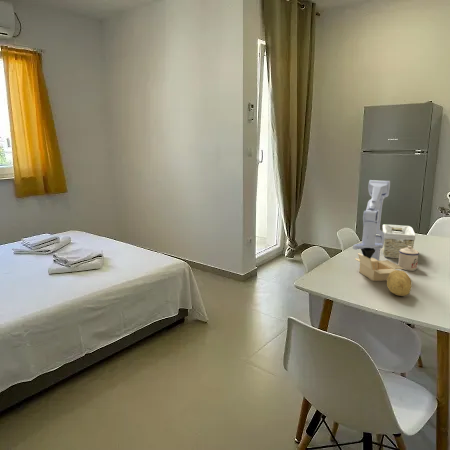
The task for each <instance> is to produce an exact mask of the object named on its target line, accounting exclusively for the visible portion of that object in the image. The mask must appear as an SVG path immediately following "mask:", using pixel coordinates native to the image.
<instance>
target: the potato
mask: <svg viewBox="0 0 450 450" xmlns="http://www.w3.org/2000/svg"><path fill="white" fill-rule="evenodd" d="M412 285H413V283H412V279H411V277H410V276H409V274H408V273H407V272H405V270H401V269H395V271H392V272H391V273H390V274H389V276H388V278H387V280H386V286H387V288H388V291H389V292H390V293H392V294H394V295H396V296H399V297H405V296H408V295H409V294H410V293H411V289H412Z"/></svg>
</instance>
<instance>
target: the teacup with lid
mask: <svg viewBox="0 0 450 450" xmlns="http://www.w3.org/2000/svg"><path fill="white" fill-rule="evenodd" d="M399 252H400V253H399V258H398V262H397V263H398V264H397V265H398V266H400V267H402V268H403V269H402V271H416V270H418V261H419V255H420V251H419V250H417V249H414V247H413V248H412V246H408V248H404V249H400V251H399Z"/></svg>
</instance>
